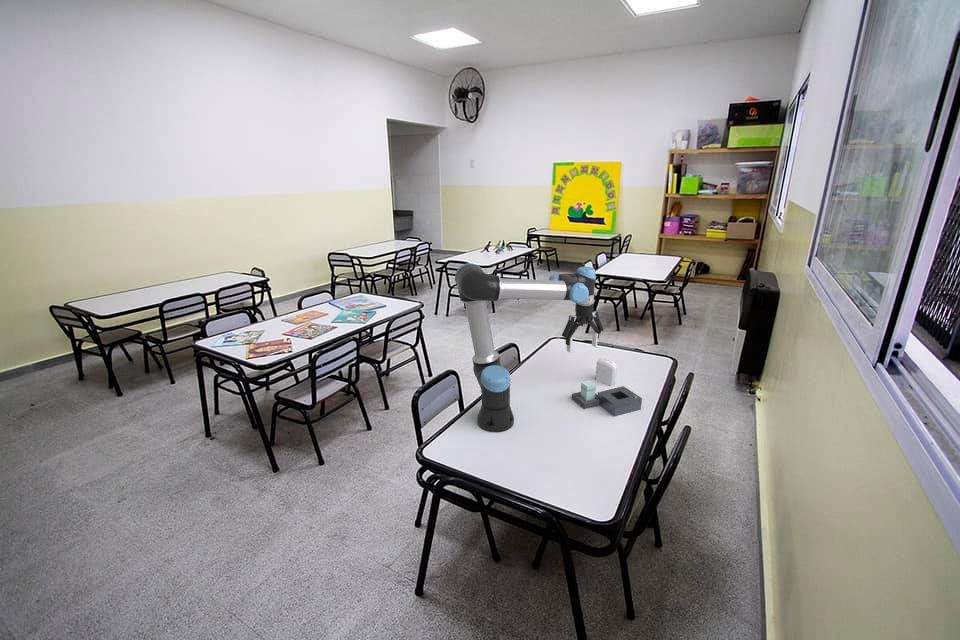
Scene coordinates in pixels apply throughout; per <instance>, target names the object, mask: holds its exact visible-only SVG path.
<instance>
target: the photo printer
mask: <svg viewBox="0 0 960 640" xmlns="http://www.w3.org/2000/svg"><path fill="white" fill-rule="evenodd" d="M595 368H596V369H595V381H597V382H599V383H601V384H602V385H603V384H604V385H606V386H608V387H615V386H616V384H617V375H618V364H616V363H615V362H614V361H613V360H610V359H607V358H602V357H600V358H598V359H597V360H596V367H595Z"/></svg>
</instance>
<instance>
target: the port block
mask: <svg viewBox="0 0 960 640" xmlns="http://www.w3.org/2000/svg"><path fill="white" fill-rule="evenodd" d="M597 395H598V396H597V398H598V399H599V400H600V407H601V408H602V409H603V410H605V411H607V413H609V414H610V415H611V416H612V417H614V418H615V417H618V416H622V415H625V414H629V413H633V412H637V411H640V410H642V401H643V398H642V397H641V396H639V395H638V394H637V393H635V392H633V391H631V390H630V389H629V388H628V387H625V386H624V385H622V386H619V387H618V386H617V387H614V388H610V389H607V390H602V391H598V392H597Z"/></svg>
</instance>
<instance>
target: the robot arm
mask: <svg viewBox="0 0 960 640" xmlns="http://www.w3.org/2000/svg"><path fill="white" fill-rule="evenodd" d="M454 281H455V285H457V290H458V295H459V300H460V302H462V303H464V305H465V311H466V316H467V321H468V327H469V330H470V334H471V335H470V336H471V342H472V346H473V351H474V354H473V356H472V359H471V360H472V363H473V367H472V368H473V375H474V376H475V378H476V381H477V383H478V385H479V388H480V394H481V406H480V410H479V413H478V416H477V424H478V426H479V427H480V428H481V429H482V430H484V431H487V432H490V433H501V432H505V431H508V430H509V429H511V428H512V427H513V426H514V424H515V417H514V416H515V415H514V414H513V410H512V408H511V374H510V372H509V371H508V369H507V368H505V367H503V366H502V363H501V358H500V353H499V352H498V351H496V350H495V345H494V340H493V335H492V334H493V333H492V329H491V323H490V318H489V317H490V316H489V312H488V311H489V310H488V306H487V302H498V301H499V300H500V299H504V300H506V299H509V300H510V299H511V300H543V301H545V300H546V301H547V300H548V301H550V300H551V301H571V302H572V303H575V314H574V315H569V316H568V321H567V323H566V324H565V326H564V330H563V332H562V334H561V337H563V338H564V339H565V345H566V352H568V353H570V354H571V353H572V348H573V338H572V336H574V334H575V332H576V331H577V330H578V328H579V327H581V326H582V325H589V326H590V328H591V329H592V330H593V331H592V339H591V340H592V341H591V346H592V347H594V348H598V340H599V337H600V334H602V332H603V331H604V327H603V325H602V323H601V320H600V318H599V315H600V314H599V312H597V311H596V310H594V303H595V302H594V301H595V300H594V299H595V289H596V288H595V285H596V269H595V268H594V267H591V266H581V267H578V268H577V271H576V272H573V273H561V274H559V273H558V274H551V275H550V276H549V278H548V279H529V278H527V279H526V278H523V279H522V278H502V277H500V276H499V275H493V274H488V273H486V272H484V270H483V268H482V267H480V266H479V265H478V264H476V263H473V262H471V263H469V262H468V263H463V264H461V266H459V267H458V268H457V269H456V271H455V276H454ZM592 318H593V319H592ZM593 320H594V321H593Z"/></svg>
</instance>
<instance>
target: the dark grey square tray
mask: <svg viewBox="0 0 960 640" xmlns="http://www.w3.org/2000/svg"><path fill="white" fill-rule="evenodd" d="M580 394H581V391H578V392H573V393H571V400H572V401H574V402H575V403H576V404H577V405H578V406H580V407H581V408H582V409H583V410H588V409H591V408H596V407H599V406H600V400H599V399H598V398H597V396H598V393H596V392H595V399H592V400H588V401H585V400H584V399H583V398H581V397H580ZM600 407H601V406H600Z"/></svg>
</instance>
